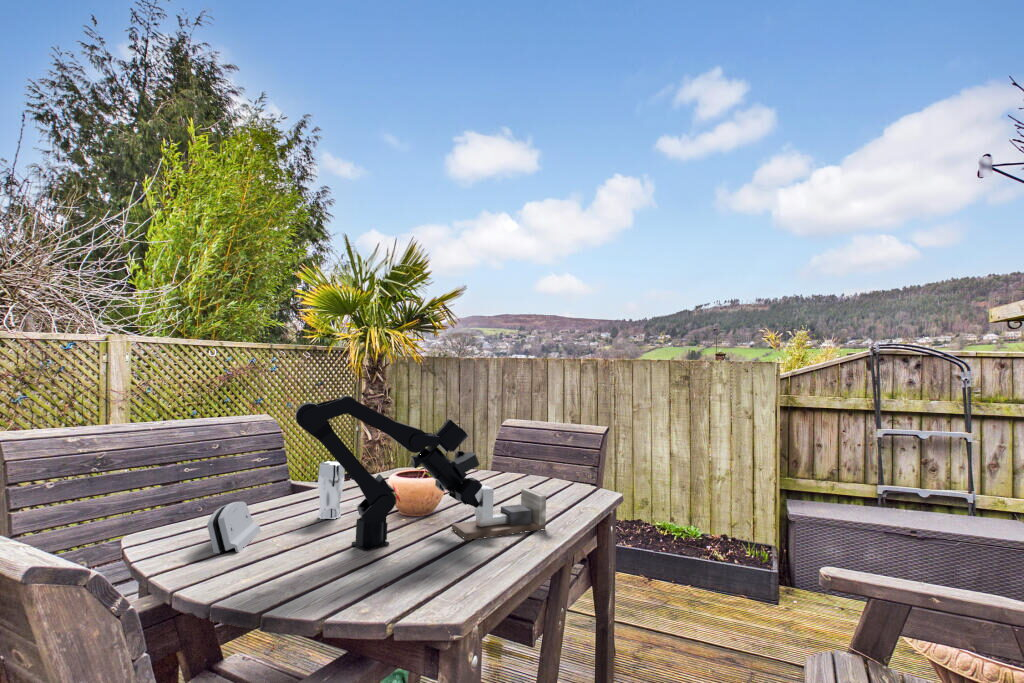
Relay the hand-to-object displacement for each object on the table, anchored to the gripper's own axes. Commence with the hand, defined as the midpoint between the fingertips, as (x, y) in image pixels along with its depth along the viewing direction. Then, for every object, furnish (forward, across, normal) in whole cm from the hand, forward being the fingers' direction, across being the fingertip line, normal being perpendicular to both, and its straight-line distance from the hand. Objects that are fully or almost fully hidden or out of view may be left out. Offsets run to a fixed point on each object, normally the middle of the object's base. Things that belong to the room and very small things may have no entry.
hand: (477, 506), depth 133 cm
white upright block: (-18, +29, +28) cm, 44 cm away
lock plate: (+9, 0, 0) cm, 9 cm away
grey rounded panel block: (-35, +16, +44) cm, 59 cm away
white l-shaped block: (+7, 0, 0) cm, 7 cm away
